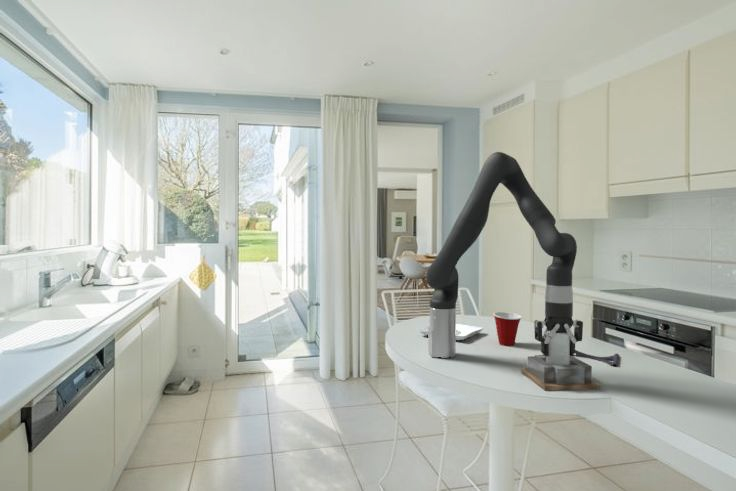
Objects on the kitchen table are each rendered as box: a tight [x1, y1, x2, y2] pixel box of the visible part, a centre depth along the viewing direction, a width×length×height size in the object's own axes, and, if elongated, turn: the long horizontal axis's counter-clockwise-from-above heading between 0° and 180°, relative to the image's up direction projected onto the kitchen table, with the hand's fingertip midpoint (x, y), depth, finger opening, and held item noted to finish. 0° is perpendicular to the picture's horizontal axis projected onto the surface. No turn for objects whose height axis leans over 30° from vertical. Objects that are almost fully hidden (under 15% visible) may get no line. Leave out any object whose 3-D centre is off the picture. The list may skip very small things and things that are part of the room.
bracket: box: [573, 349, 620, 368], centre depth 152 cm, size 14×15×3 cm
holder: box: [520, 354, 601, 391], centre depth 130 cm, size 16×16×6 cm
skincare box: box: [546, 331, 570, 366], centre depth 129 cm, size 6×4×12 cm
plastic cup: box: [492, 311, 523, 347], centre depth 171 cm, size 11×11×12 cm
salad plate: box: [418, 323, 484, 341], centre depth 187 cm, size 21×21×3 cm
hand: (558, 355), depth 130 cm, fingers closed on skincare box, 7 cm apart
